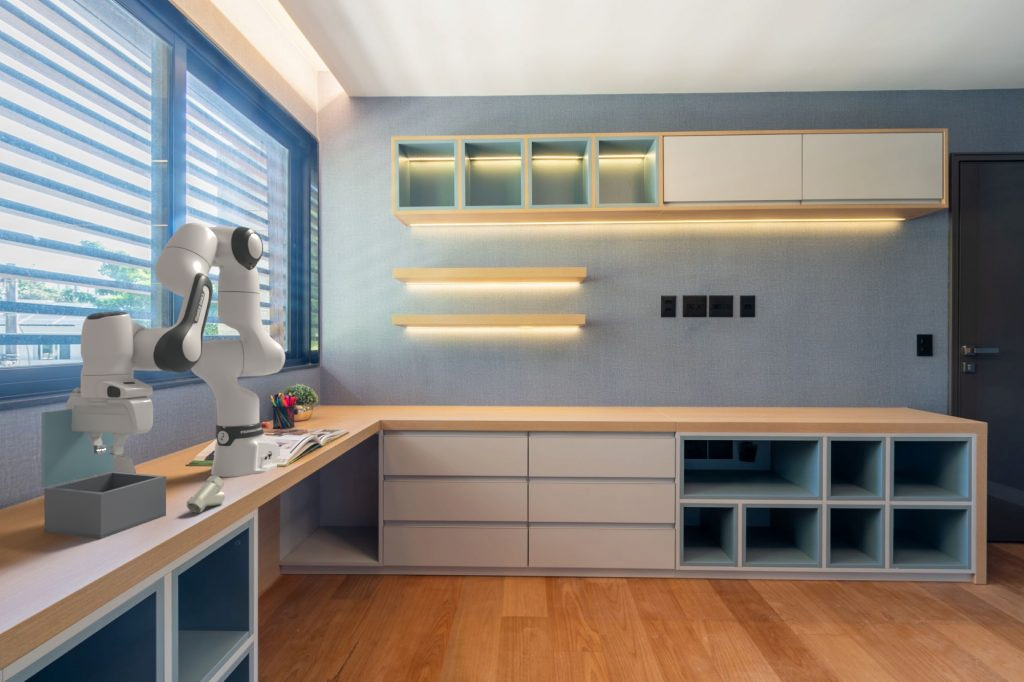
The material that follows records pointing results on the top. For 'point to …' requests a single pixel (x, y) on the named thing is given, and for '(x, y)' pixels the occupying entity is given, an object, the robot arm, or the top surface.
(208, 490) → the pipe fitting
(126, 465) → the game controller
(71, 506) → the box
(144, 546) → the top surface
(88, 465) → the lid
